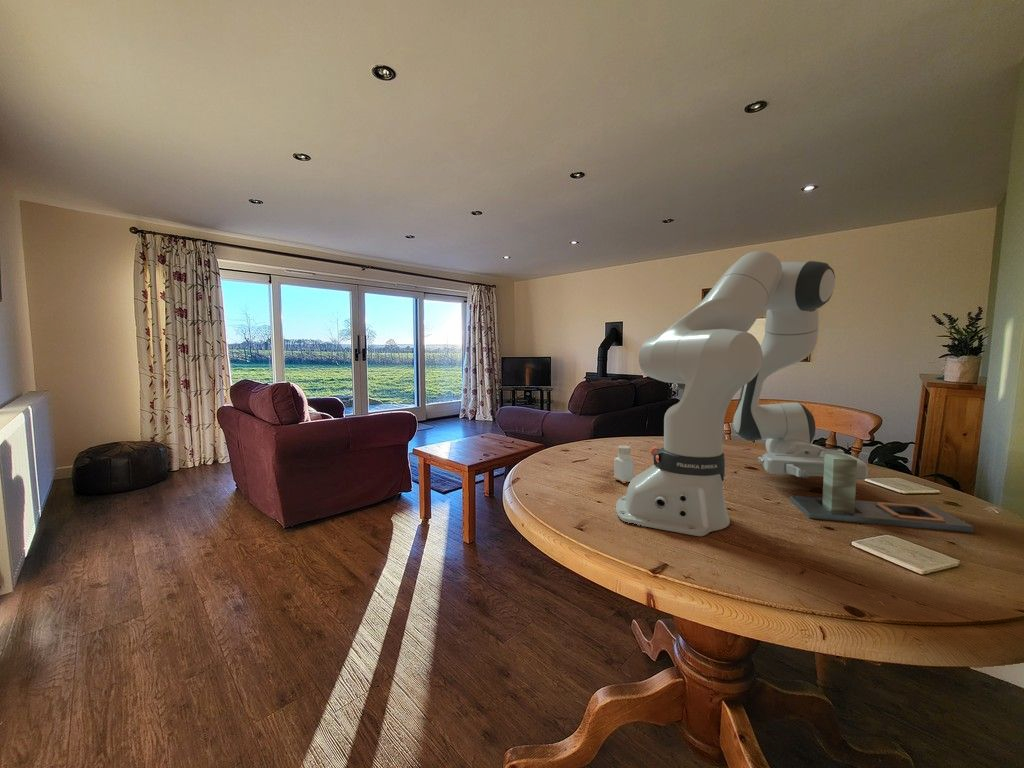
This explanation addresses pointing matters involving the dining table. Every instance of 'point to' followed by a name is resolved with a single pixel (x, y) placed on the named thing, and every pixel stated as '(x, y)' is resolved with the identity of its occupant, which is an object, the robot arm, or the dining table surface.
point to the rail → (884, 514)
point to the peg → (839, 483)
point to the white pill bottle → (624, 464)
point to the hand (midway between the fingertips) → (826, 475)
